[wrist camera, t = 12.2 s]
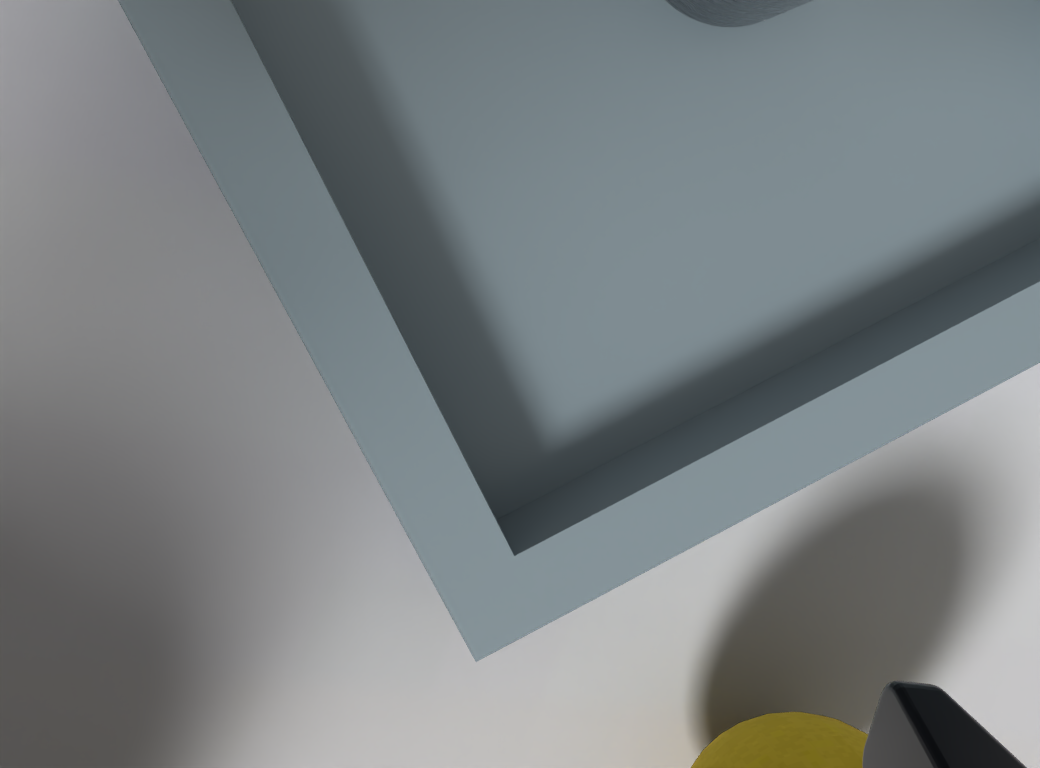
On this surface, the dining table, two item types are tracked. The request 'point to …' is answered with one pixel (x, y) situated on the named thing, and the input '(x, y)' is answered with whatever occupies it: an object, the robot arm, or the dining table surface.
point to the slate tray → (621, 252)
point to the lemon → (786, 743)
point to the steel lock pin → (734, 10)
